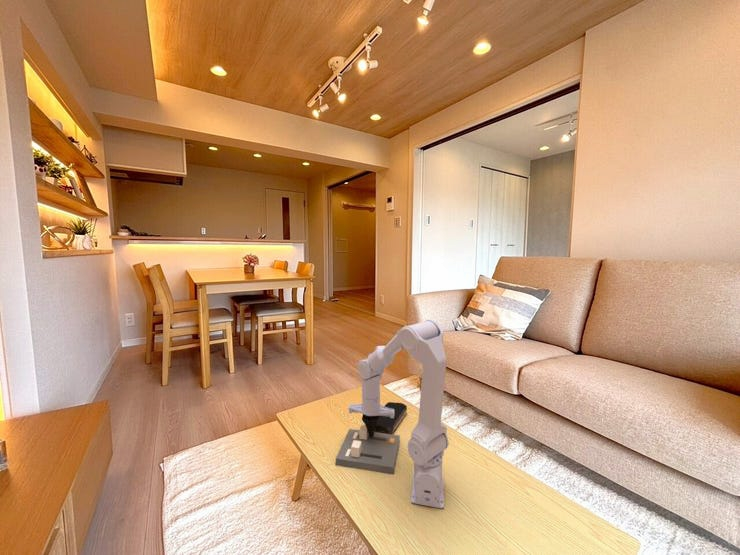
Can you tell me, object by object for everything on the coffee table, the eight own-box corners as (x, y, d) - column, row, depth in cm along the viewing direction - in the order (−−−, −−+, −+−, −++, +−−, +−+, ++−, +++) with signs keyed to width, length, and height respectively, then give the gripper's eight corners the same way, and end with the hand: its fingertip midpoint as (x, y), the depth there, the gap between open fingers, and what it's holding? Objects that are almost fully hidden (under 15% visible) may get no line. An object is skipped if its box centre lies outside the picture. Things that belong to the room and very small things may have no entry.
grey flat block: (393, 474, 83) (393, 467, 82) (335, 464, 86) (335, 458, 86) (399, 441, 96) (399, 435, 96) (349, 434, 100) (349, 428, 100)
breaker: (359, 457, 86) (358, 448, 86) (351, 456, 87) (351, 446, 86) (361, 450, 89) (361, 441, 89) (354, 449, 90) (353, 440, 89)
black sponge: (391, 438, 98) (391, 428, 98) (368, 431, 102) (368, 421, 102) (408, 413, 112) (408, 404, 112) (388, 407, 116) (388, 399, 116)
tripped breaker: (366, 439, 94) (366, 431, 93) (359, 438, 94) (359, 430, 94) (368, 433, 97) (368, 425, 96) (361, 432, 97) (361, 424, 97)
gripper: (395, 391, 96) (395, 430, 97) (352, 386, 99) (353, 424, 100) (392, 402, 89) (392, 444, 90) (346, 397, 92) (347, 438, 94)
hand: (371, 435), depth 95 cm, fingers closed
